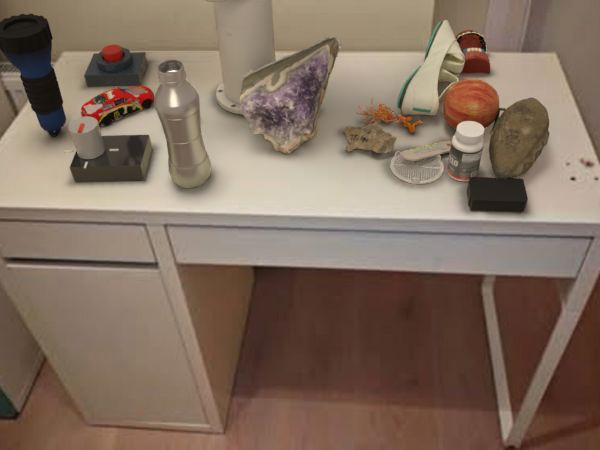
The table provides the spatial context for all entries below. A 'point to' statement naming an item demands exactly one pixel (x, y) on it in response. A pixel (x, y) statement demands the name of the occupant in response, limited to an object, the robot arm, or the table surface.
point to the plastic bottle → (181, 125)
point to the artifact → (369, 138)
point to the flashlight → (34, 66)
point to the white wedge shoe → (432, 73)
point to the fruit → (471, 103)
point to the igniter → (116, 70)
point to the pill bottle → (466, 151)
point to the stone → (518, 138)
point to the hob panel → (115, 160)
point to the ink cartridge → (496, 194)
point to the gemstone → (289, 95)
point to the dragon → (389, 117)
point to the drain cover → (417, 180)
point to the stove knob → (87, 137)
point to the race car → (117, 103)
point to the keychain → (427, 151)
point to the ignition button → (112, 53)
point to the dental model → (474, 52)
